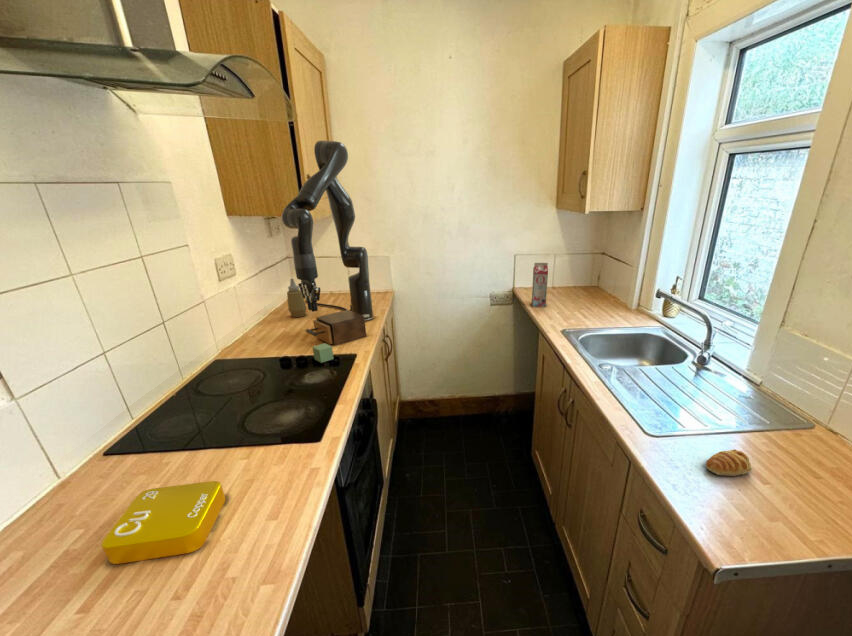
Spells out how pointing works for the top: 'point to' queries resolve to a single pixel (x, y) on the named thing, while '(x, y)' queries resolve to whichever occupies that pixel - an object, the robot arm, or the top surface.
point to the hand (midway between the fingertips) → (313, 310)
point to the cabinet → (345, 326)
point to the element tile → (165, 522)
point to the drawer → (321, 331)
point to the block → (323, 352)
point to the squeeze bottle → (295, 300)
